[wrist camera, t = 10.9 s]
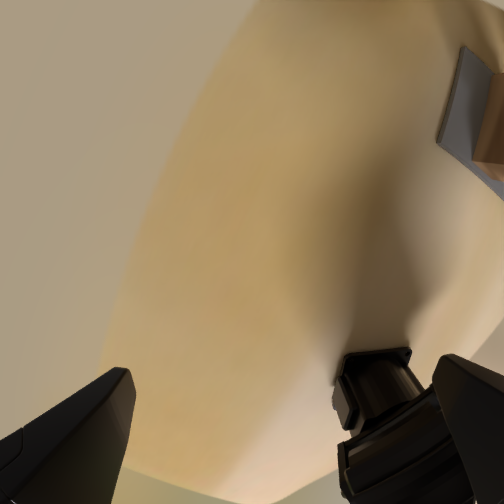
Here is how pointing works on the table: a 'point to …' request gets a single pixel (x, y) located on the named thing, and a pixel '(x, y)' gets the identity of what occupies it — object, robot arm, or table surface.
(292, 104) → the table surface
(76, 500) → the robot arm
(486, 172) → the ridge
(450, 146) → the mat
